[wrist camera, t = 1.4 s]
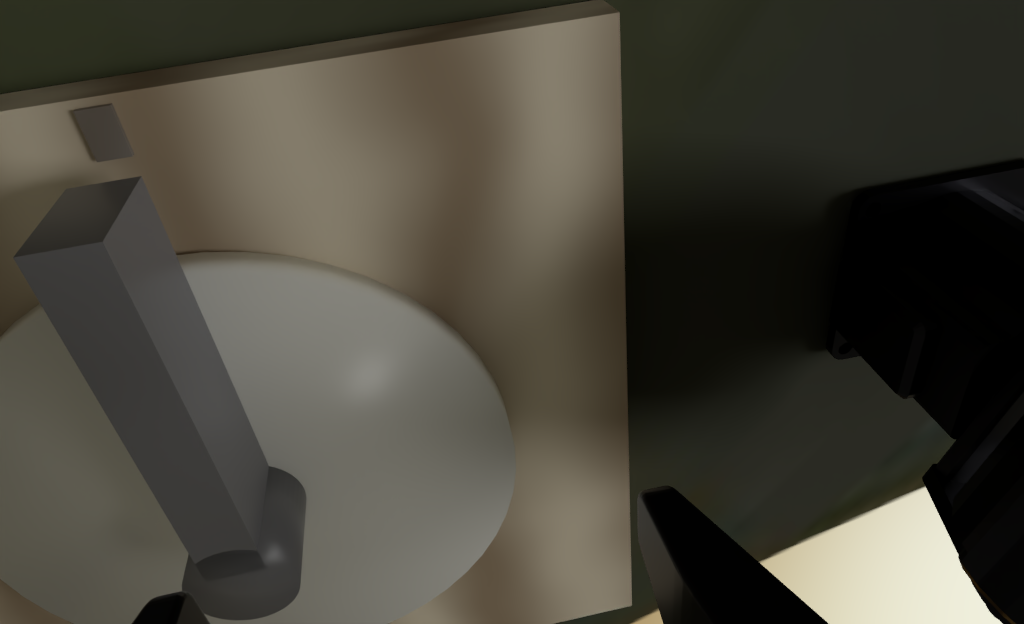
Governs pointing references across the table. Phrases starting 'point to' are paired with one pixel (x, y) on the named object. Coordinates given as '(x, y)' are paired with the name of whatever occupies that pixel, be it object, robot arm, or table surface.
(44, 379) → the dial
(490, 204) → the dial base
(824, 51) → the table surface
